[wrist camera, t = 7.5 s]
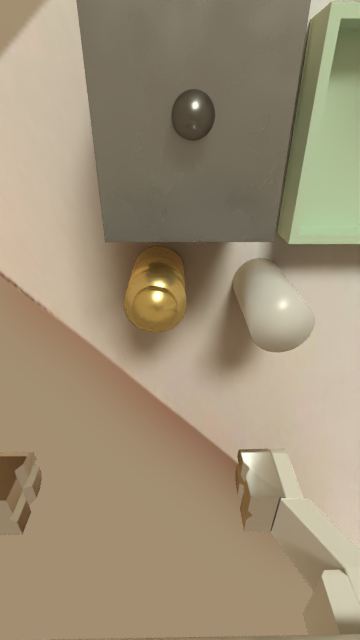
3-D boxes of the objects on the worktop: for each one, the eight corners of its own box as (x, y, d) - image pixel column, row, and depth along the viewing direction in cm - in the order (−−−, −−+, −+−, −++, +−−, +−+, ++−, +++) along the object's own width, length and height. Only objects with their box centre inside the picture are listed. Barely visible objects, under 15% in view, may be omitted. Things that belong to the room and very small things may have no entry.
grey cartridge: (277, 303, 27) (307, 352, 21) (230, 303, 27) (247, 352, 21) (285, 258, 25) (321, 297, 19) (235, 258, 25) (254, 298, 19)
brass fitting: (183, 293, 26) (186, 338, 20) (135, 293, 26) (124, 339, 20) (184, 246, 24) (187, 281, 18) (132, 246, 24) (118, 281, 18)
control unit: (240, 205, 23) (279, 248, 14) (129, 205, 23) (101, 248, 14) (258, 6, 18) (340, -119, 9) (113, 5, 17) (53, -122, 9)
